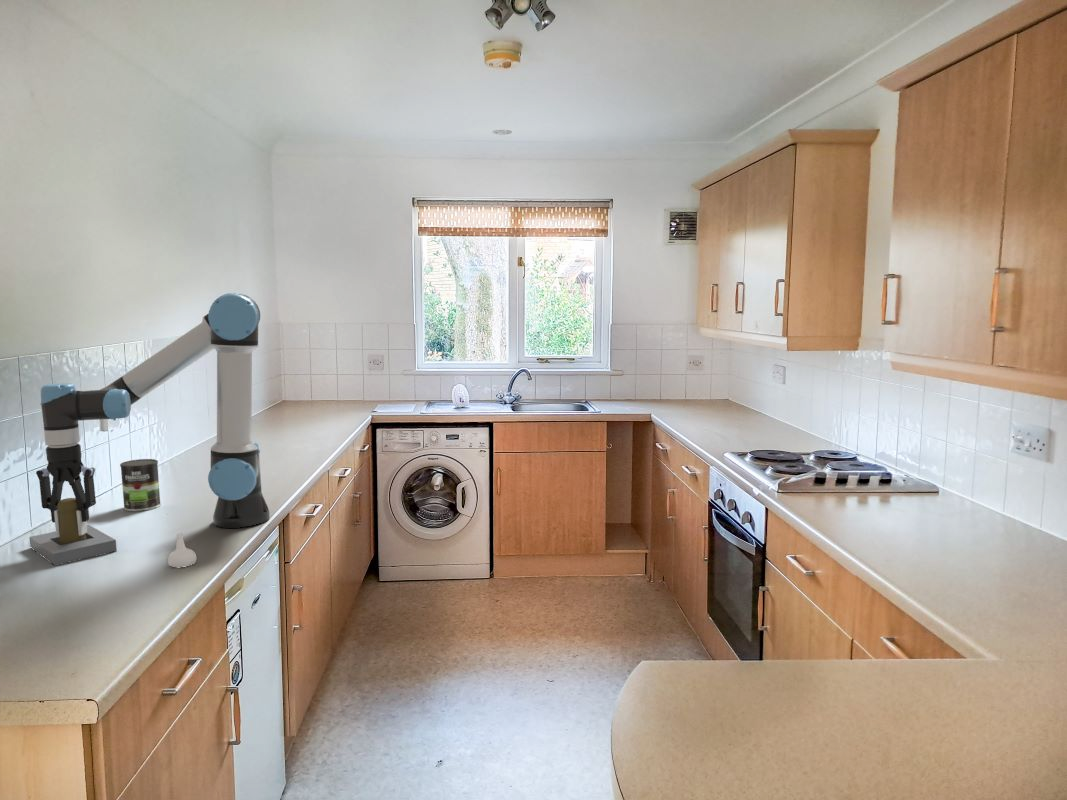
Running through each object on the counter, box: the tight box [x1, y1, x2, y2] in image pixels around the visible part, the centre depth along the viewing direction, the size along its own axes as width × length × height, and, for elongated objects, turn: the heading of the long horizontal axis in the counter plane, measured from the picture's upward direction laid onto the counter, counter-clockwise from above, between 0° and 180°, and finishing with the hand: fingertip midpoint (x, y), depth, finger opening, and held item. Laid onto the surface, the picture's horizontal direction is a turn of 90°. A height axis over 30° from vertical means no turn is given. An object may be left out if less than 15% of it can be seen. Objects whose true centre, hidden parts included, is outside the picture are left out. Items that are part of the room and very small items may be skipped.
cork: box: [57, 497, 86, 544], centre depth 198 cm, size 6×6×11 cm
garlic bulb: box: [167, 532, 197, 568], centre depth 187 cm, size 6×6×8 cm
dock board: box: [29, 524, 118, 566], centre depth 199 cm, size 20×14×3 cm
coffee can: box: [120, 458, 162, 512], centre depth 238 cm, size 10×10×14 cm
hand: (72, 533), depth 199 cm, fingers closed on cork, 5 cm apart
